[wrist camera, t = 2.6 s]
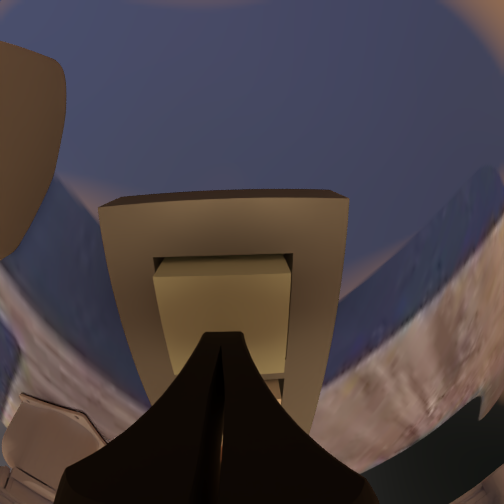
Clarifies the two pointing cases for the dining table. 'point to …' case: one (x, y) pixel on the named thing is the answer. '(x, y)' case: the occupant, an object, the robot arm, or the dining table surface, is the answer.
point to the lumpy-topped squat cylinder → (27, 137)
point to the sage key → (225, 304)
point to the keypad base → (232, 243)
